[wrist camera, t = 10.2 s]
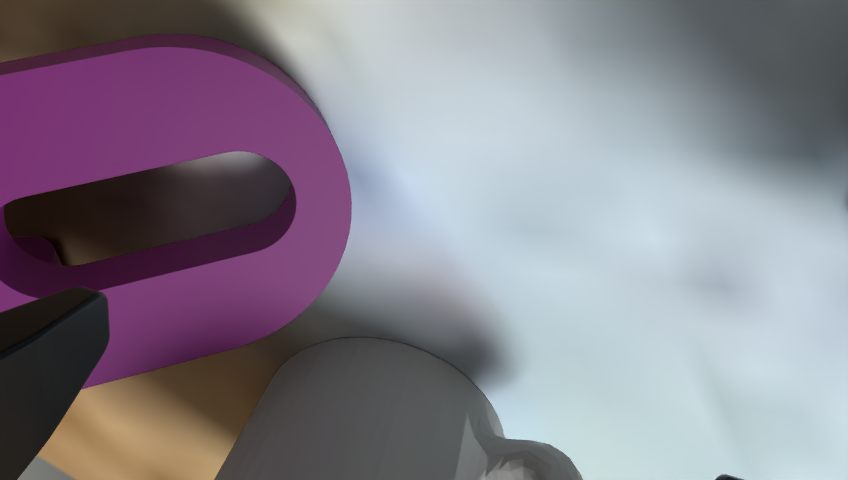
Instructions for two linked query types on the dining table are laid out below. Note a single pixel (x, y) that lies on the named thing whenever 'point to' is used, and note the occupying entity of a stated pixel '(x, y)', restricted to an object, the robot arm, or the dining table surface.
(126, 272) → the mounting bracket
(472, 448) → the coffee mug
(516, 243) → the dining table surface
